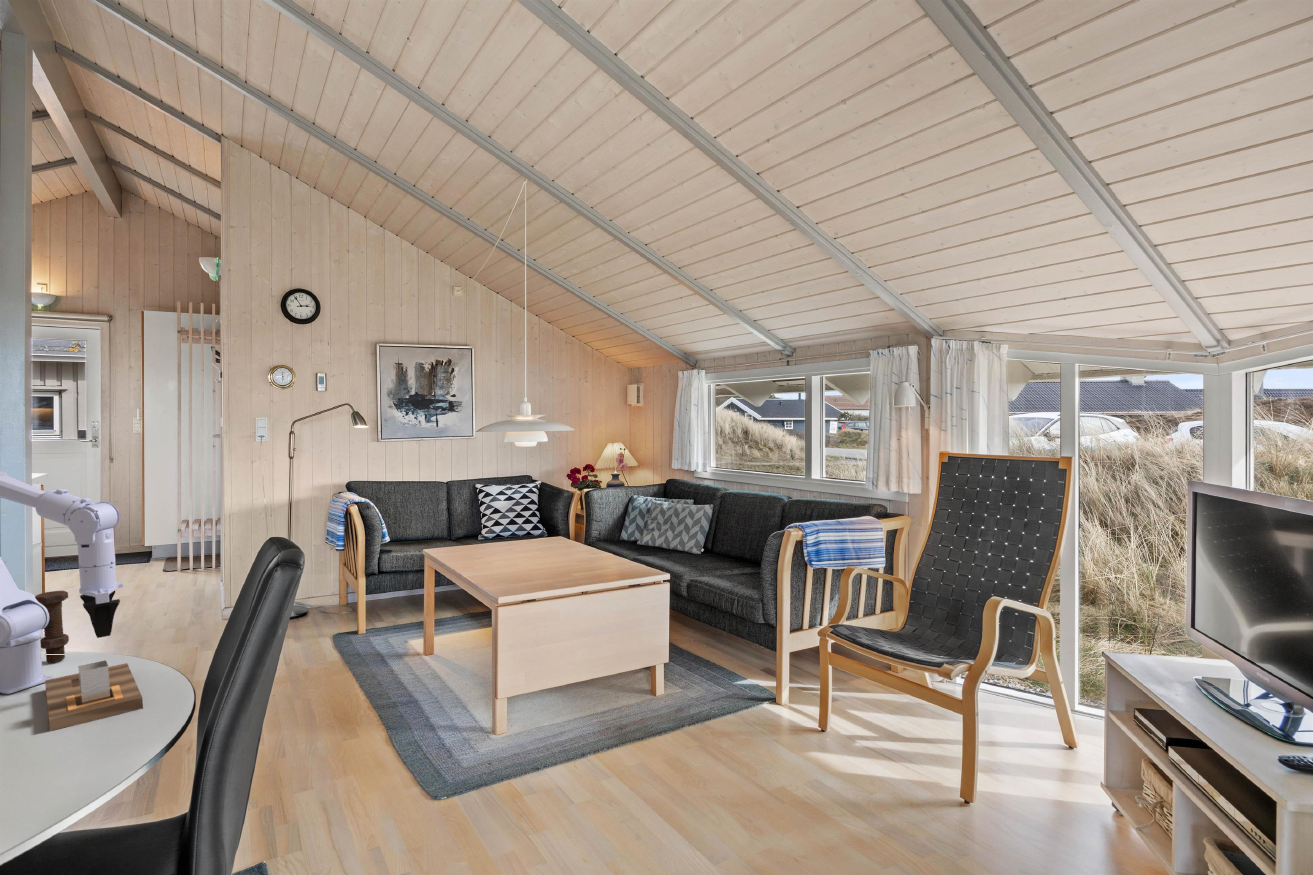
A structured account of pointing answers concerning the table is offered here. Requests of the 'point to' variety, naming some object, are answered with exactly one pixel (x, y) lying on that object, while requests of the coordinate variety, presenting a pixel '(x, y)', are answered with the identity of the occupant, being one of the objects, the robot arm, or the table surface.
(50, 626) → the bolt
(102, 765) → the table surface
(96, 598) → the robot arm
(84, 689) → the steel peg
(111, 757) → the table surface
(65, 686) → the wooden peg hole board
